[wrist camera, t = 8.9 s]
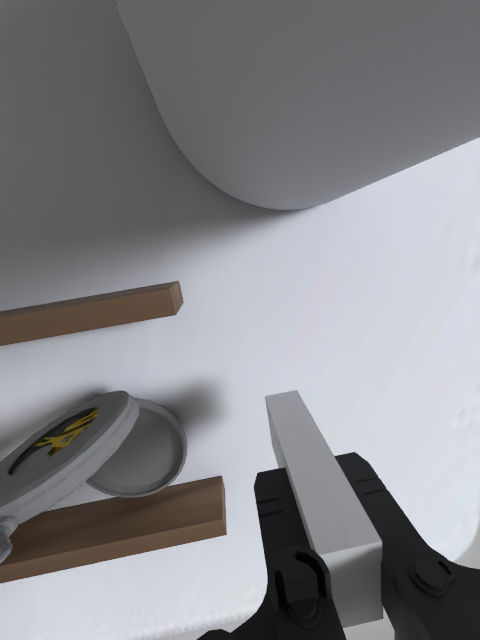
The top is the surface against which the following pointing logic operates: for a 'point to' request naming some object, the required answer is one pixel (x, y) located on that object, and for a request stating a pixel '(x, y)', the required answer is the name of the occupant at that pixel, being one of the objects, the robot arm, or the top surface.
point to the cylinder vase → (309, 89)
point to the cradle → (116, 513)
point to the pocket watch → (91, 458)
